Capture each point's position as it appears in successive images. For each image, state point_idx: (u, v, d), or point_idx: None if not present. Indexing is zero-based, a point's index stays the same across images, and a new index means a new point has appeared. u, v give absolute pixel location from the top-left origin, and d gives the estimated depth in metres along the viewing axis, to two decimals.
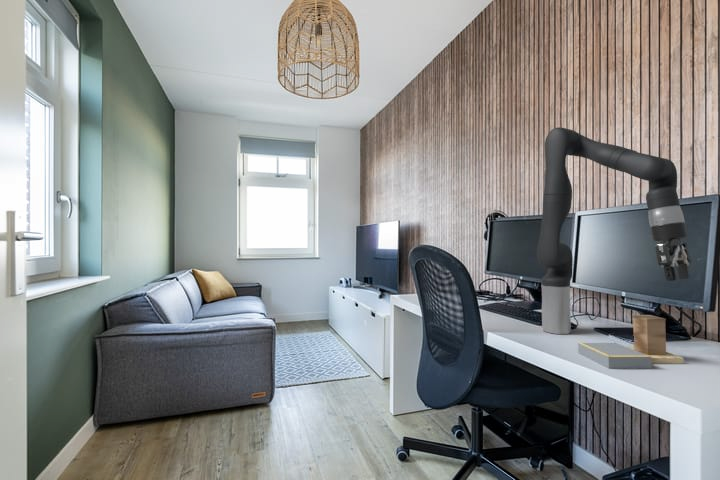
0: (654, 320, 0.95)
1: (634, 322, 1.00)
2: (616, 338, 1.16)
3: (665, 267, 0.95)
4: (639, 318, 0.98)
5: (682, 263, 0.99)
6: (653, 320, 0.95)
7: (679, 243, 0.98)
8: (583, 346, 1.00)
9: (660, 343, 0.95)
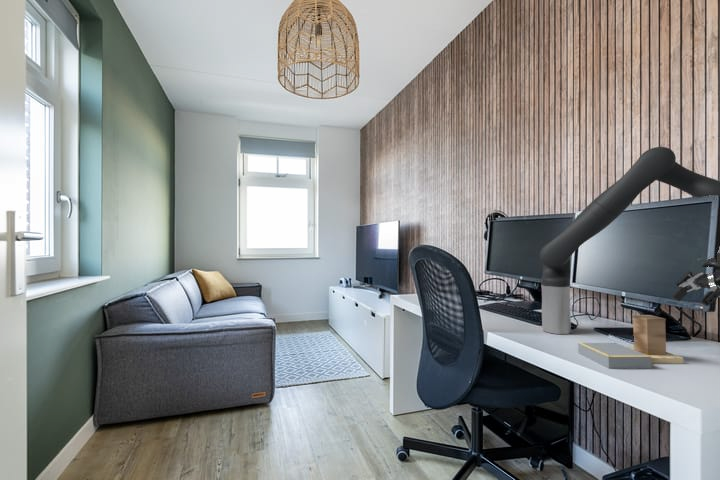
0: (654, 320, 0.95)
1: (634, 322, 1.00)
2: (616, 338, 1.16)
3: (715, 293, 0.92)
4: (639, 318, 0.98)
5: (686, 288, 1.02)
6: (653, 320, 0.95)
7: None
8: (583, 346, 1.00)
9: (660, 343, 0.95)
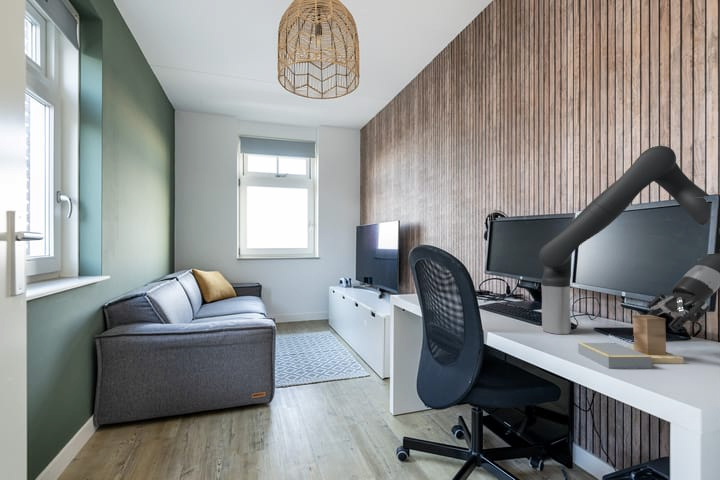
0: (654, 320, 0.95)
1: (634, 322, 1.00)
2: (616, 338, 1.16)
3: (684, 318, 0.92)
4: (639, 318, 0.98)
5: (657, 311, 1.02)
6: (653, 320, 0.95)
7: None
8: (583, 346, 1.00)
9: (660, 343, 0.95)
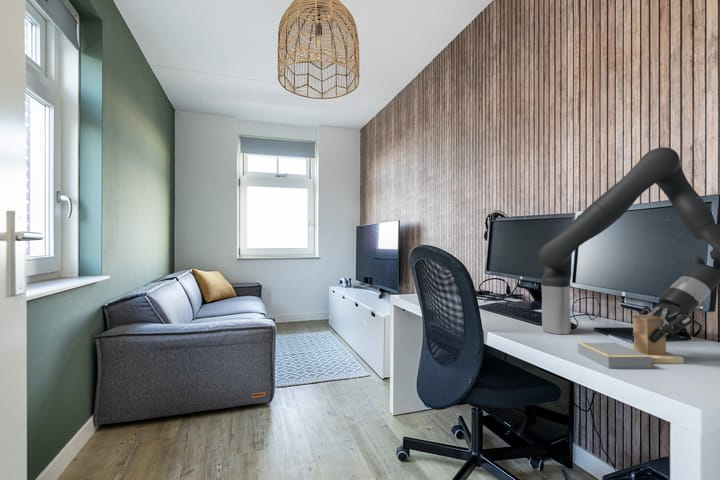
0: (654, 320, 0.95)
1: (634, 322, 1.00)
2: (616, 338, 1.16)
3: (662, 331, 0.94)
4: (639, 318, 0.98)
5: None
6: (653, 320, 0.95)
7: None
8: (583, 346, 1.00)
9: (660, 343, 0.95)
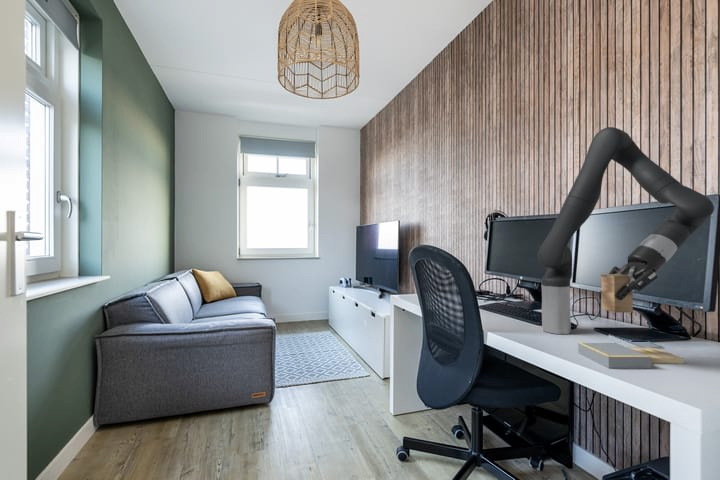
0: (621, 277, 0.94)
1: (602, 281, 0.98)
2: (616, 338, 1.16)
3: (628, 288, 0.93)
4: (607, 276, 0.97)
5: None
6: (620, 277, 0.94)
7: None
8: (583, 346, 1.00)
9: (627, 300, 0.94)
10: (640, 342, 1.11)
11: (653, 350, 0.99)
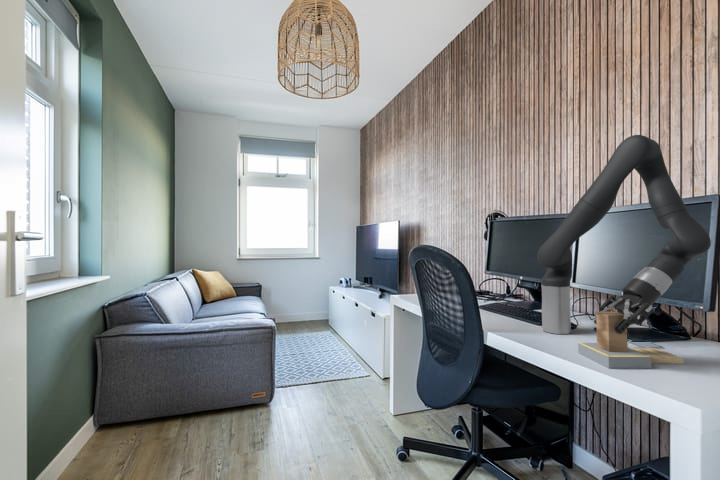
0: (615, 317, 0.94)
1: (597, 319, 0.98)
2: None
3: (628, 321, 0.91)
4: (601, 315, 0.96)
5: None
6: (614, 317, 0.94)
7: None
8: (583, 346, 1.00)
9: (621, 340, 0.93)
10: (640, 342, 1.11)
11: (653, 350, 0.99)
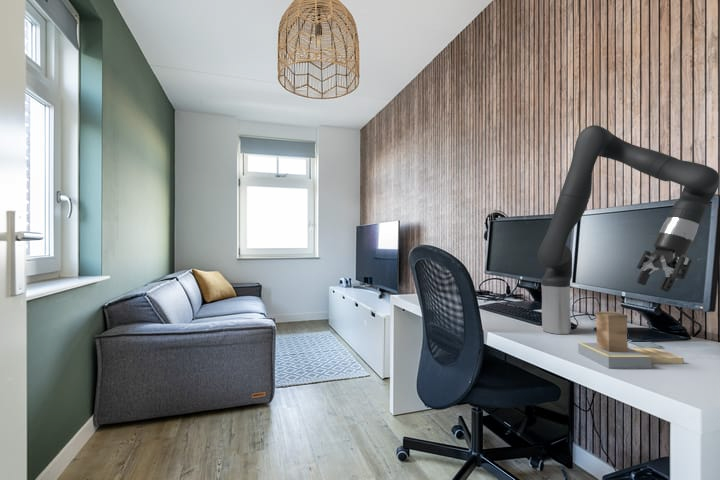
0: (615, 317, 0.94)
1: (597, 319, 0.98)
2: None
3: (671, 278, 0.94)
4: (601, 315, 0.96)
5: (647, 271, 1.04)
6: (614, 317, 0.94)
7: None
8: (583, 346, 1.00)
9: (621, 340, 0.93)
10: (640, 342, 1.11)
11: (653, 350, 0.99)
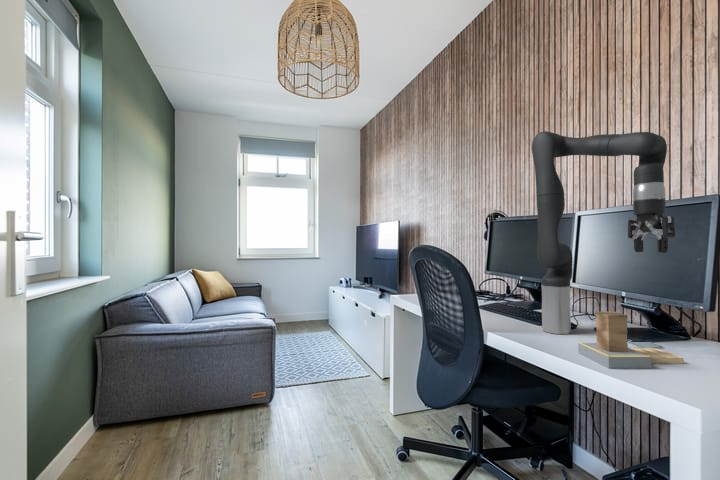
0: (615, 317, 0.94)
1: (597, 319, 0.98)
2: None
3: (664, 239, 0.98)
4: (601, 315, 0.96)
5: (639, 237, 1.07)
6: (614, 317, 0.94)
7: None
8: (583, 346, 1.00)
9: (621, 340, 0.93)
10: (640, 342, 1.11)
11: (653, 350, 0.99)
